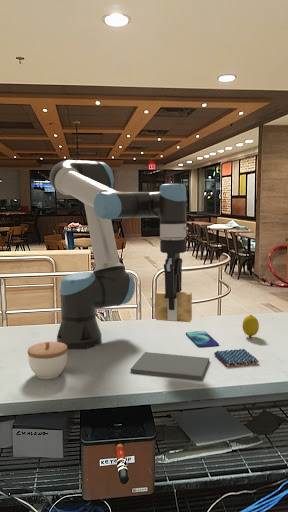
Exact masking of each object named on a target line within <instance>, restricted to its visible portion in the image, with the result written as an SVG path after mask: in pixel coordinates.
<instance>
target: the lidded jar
mask: <svg viewBox="0 0 288 512" xmlns="http://www.w3.org/2000/svg"><path fill="white" fill-rule="evenodd" d="M27 355H28V356H27V357H28V364H29V367H30V369H31V371H32V373H34V375H36V376H37V378H39V379H42V380H51V379H55V378H57V377H59V376H60V375H61V373H62V372H63V371H64V369H65V368H66V365H67V360H68V348H67V345H66V344H64V343H60V342H57V341H45V342H39V343H35V344H33V345H31V346H29V347H28V349H27Z"/></svg>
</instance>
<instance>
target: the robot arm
mask: <svg viewBox="0 0 288 512" xmlns="http://www.w3.org/2000/svg"><path fill="white" fill-rule="evenodd" d="M49 182H50V185H51V187H52V188H53V189H54V190H55V191H56V192H58V193H59V194H62V195H65V196H69V195H70V196H71V197H73V198H75V199H77V200H79V201H80V202H82V203H83V205H84V210H85V217H86V222H87V226H88V231H89V238H90V242H91V248H92V252H93V253H92V254H93V257H94V263H95V267H94V269H93V271H82V272H80V271H79V272H75V273H71V274H67V275H65V276H64V277H62V279H61V280H60V284H59V285H60V286H59V287H60V288H59V294H60V296H59V297H60V313H61V321H60V324H59V328H58V333H57V335H56V342H60V343H64V344H66V345H67V349H75V350H79V349H86V348H92V347H94V346H95V347H96V346H97V345H99V344H100V343H101V342H102V341H103V340H102V332H101V329H100V326H99V324H98V323H99V322H98V321H97V318H96V317H97V316H96V315H97V314H96V312H97V311H96V310H97V309H98V310H99V309H104V308H110V307H115V306H116V307H118V306H121V305H124V304H128V303H129V302H130V301H132V298H133V296H134V294H135V291H136V290H135V289H136V281H135V278H134V276H133V275H132V273H131V272H129V271H127V270H126V267H125V265H124V264H123V263H122V262H120V258H119V254H118V248H117V243H116V242H117V241H116V238H115V233H114V228H113V227H114V226H113V223H112V220H115V219H138V218H139V219H140V218H141V219H143V218H159V220H160V221H159V237H160V238H161V239H160V241H159V242H160V244H159V246H160V247H159V248H160V249H159V250H160V253H163V254H167V255H166V258H165V260H164V261H165V262H164V264H163V271H164V291H165V296H164V298H167V314H168V320H171V321H170V322H178V321H177V298H176V292H182V281H183V280H182V278H183V275H182V273H183V272H182V268H183V258H181V255H180V254H183V253H186V252H187V250H188V247H187V244H188V243H187V239H186V238H187V231H188V230H189V226H187V201H188V197H187V187H186V185H185V184H183V183H164V184H163V183H162V184H161V185H160V187H159V190H158V191H135V192H134V191H119V190H118V191H117V190H115V189H114V183H115V178H114V174H113V171H112V168H111V167H110V166H109V165H108V164H107V163H105V162H104V161H98V160H73V159H66V160H65V159H64V160H62V161H59V162H58V163H56V164H55V165H54V166H53V167H52V169H51V170H50V172H49Z"/></svg>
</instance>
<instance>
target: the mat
mask: <svg viewBox="0 0 288 512" xmlns="http://www.w3.org/2000/svg"><path fill="white" fill-rule="evenodd" d="M209 363H210V357H204V356H203V357H202V356H192V355H180V354H172V353H171V354H169V353H158V352H150V351H148V352H147V351H146V352H145V351H144V353H143V354H142V355H141V356H140V357H139V358H138V359H137V360H136V361H135V363H134V364H133V365H132V367H131V368H130V373H135V374H142V375H143V374H144V375H150V376H151V375H153V376H160V377H171V378H179V379H190V380H196V381H203V377H204V376H205V373H206V371H207V368H208V366H209Z"/></svg>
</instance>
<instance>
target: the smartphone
mask: <svg viewBox="0 0 288 512" xmlns="http://www.w3.org/2000/svg"><path fill="white" fill-rule="evenodd" d="M185 335H186V337H187V338H188V339H189V340H190V341H191V342H192V343H193V344H194V345H195V346H196V347H197V348H211V347H219V346H220V343H219V342H218V341H216V339H214V338H213V337H212V336H211V335H210V334H209V332H207V331H205V330H200V331H199V330H198V331H188V332H187V331H186V332H185Z"/></svg>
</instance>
